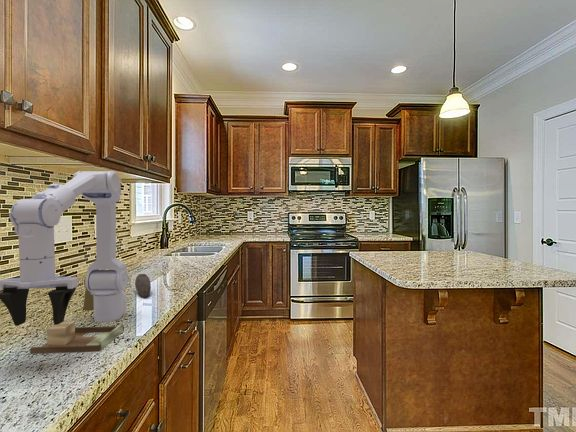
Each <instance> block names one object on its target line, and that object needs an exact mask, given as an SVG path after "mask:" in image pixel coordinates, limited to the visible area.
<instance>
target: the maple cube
mask: <svg viewBox="0 0 576 432" xmlns="http://www.w3.org/2000/svg"><path fill="white" fill-rule="evenodd" d="M75 327H76V323H75V321H67V322H66V321H65V322H64V321H63V322H62V323H60V324H58V325H54V324H53V325H51V326H49V327H47V328H46V343H47V346H49V345H66V344H67V343H69V342H70V341H72V340H73V339H74V338H75Z"/></svg>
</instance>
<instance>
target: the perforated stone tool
mask: <svg viewBox="0 0 576 432" xmlns="http://www.w3.org/2000/svg"><path fill="white" fill-rule="evenodd" d="M134 285H135V289H136V292H137V294H139V296H141V297H148V296H149V295H150V293H151V289H152V284H151V281H150V277H149V276H148V275H147V274H146V273H139V274H137V276H136V277H135V281H134Z"/></svg>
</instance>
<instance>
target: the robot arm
mask: <svg viewBox="0 0 576 432" xmlns="http://www.w3.org/2000/svg"><path fill="white" fill-rule="evenodd" d="M121 183H122V182H121V179H120V177H119V175H118V173H117V172H116V171H114V170H107V171H105V170H102V171H101V170H99V171H98V170H97V171H95V170H94V171H93V170H91V171H89V170H86V171H84V170H78V171H77V172H74V173H73V177H72V178H71V179H70V180H69V181H68V182H67V181H66V183H65V184H60V183H51V184H49V185H48V188H46V189H45V190H43V191H40V192H37V193H35V194H34V196H33V197H31V198H21V199H19V200H18V201H16V202H15V203H13V204H12V206H11V209H10V212H9V213H8V215H9V220H10V222H11V224H12V225H13V227H14V233H15V235H16V236H18V259H19V262H18V263H19V277H14V278H3V279H0V291H2V292H0V301H1V303H3V304H4V306H5V307H6V308H7V310H8V313H9V314H10V316H11V319H12V322H13V324H14V326H15V327H18V326H20V325H23V324H24V323H26V320H27V301H28V296H29V291H30V290H31V289H36V290H37V289H38V290H39V289H54V290H50V291H48V292H47V295H48V297H49V300H50V304H51V308H52V322H53V325H58V324H60V323H62V322H64V321H65V316H66V312H67V309H68V306H69V303H70V302H71V299H72V297H73V294H75V292H76V290H77V287H79V281H78V280H79V278H78V276H77V277H73V276H72V277H71V276H58V275H56V254H55V226H58V224H59V223H60V220H61V217H62V215H63V214H64V212H65V211H67V210H69V208H71V207H72V206H74V204H75V203H76V198H77V197H78V196H80V195H81V196H82V197H84V198H85V199H86V200H87V201H90V202H92V203H94V205H95V206H96V210H95V211H96V213H95V215H96V216H95V218H96V220H95V222H96V223H95V226H96V228H95V230H96V237H95V240H96V241H95V242H96V244H95V245H96V247H95V248H96V249H95V250H96V251H95V253H96V255H95V258H96V259H95V261H93V262H92V263H91V264H89V265H88V267H87V273H86V276H85V277H86V279H85V278H84V279H85V284H84V285H85V289H86V288H87V290H88V291H90V292H91V295H93V298H94V310H93V321H95V322H96V323H105V322H106V323H109V322H113V321H117V320H119V319H121V318H122V317H123V315H124V314H128V312H127V311H128V307H127V305H128V304H127V303H128V301H127V299H128V298H127V293H126V292H125V291H124V290H125V289H126V288H127V286H128V283H129V273H128V270H127V269H128V268H127V264H126V263H124V262H123V261H122V260H120V259H118V257H117V202H118V201H120V200H121V197H122V196H121V193H122V192H121V191H122V190H121V189H122V187H121V186H122V185H121Z"/></svg>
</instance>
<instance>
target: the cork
mask: <svg viewBox="0 0 576 432" xmlns="http://www.w3.org/2000/svg"><path fill="white" fill-rule="evenodd" d="M85 279H86V276H85V277H84V279H83V283H84V285H85ZM84 292H85V293H84V299H83V300H84V301H83V310H84V311H94V298H93V295H91V292H90V291H88V290H87V288H86V287H85V291H84Z"/></svg>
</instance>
